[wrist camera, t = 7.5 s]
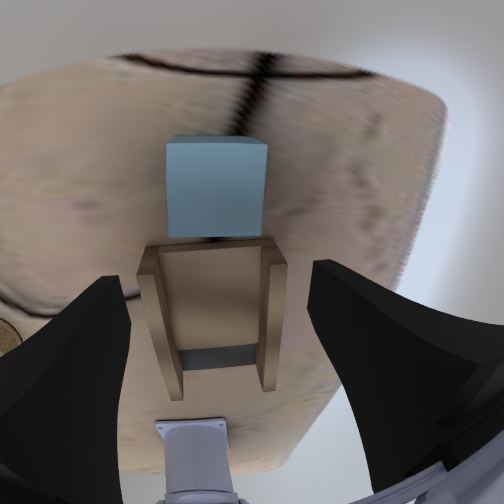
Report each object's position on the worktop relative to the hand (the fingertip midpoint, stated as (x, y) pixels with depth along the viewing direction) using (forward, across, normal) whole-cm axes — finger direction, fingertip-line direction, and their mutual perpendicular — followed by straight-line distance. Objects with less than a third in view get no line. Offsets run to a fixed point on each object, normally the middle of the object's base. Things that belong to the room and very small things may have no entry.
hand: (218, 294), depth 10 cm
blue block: (+7, 0, 0) cm, 7 cm away
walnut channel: (+9, 0, +8) cm, 13 cm away
